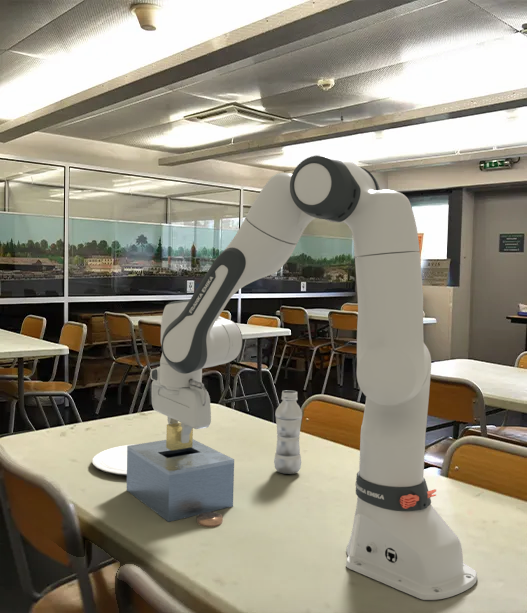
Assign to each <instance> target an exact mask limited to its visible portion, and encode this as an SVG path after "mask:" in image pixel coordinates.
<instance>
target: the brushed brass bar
mask: <svg viewBox="0 0 527 613" xmlns="http://www.w3.org/2000/svg"><path fill="white" fill-rule="evenodd" d="M181 431H182V427H181V422H178V423H175V424H166V434H165V435H166V437H165V438H166V439H165V440H166V448H168V449H169V450H171V451H172V450H178V449H184V448H190V447H192V443H193V437H194V436H193V435H194V434H193V432H194V428H192V430H191V433H190V434H189V442H188V443H182V442H180V441H179V434H180V433H181Z"/></svg>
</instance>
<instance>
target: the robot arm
mask: <svg viewBox="0 0 527 613" xmlns="http://www.w3.org/2000/svg"><path fill="white" fill-rule="evenodd" d="M415 218H416V217H415V214H414V211H413V208H412V204H411V202H410V200H409V198H408V197H407V196H406V195H405V194H403V193H402V192H400V191H396V190H392V189H380V186H379V182H378V181H377V179H376V177H375V176H374V174H372V173H371V172H370V171H369V170H367V169H366V168H364V167H362V166H359V165H357V164H355V162H353V161H351V160H349V159H346V158H341V157H336V156H334V155H331V154H316V155H312V156H310V157H307V158H305V159H303V160H302V161H301V162H300V163H299V164H297V166H296V167H295V168H294V170H293V172H292V173H288V172H280V173H276V174H274V175H273V176H271V177H270V178H269V180H268V181H267V182H266V184H265V185H264V186H263V188H262V189H261V191H260V192H259V193H258V195H257V196H256V198H255V200H254V201H253V202H252V204H251V206H250V207H249V210H248V212H247V214H246V215H245V217H244V220H243V222H242V224H241V225H240V226H239V229H238V230H237V232H236V234H234V237H233V238H232V239H231V241H230V242H229V244H228V245H227V246H226V247H225V249H224V250H222V252H221V253H220V254H219V255H218V257H216V259H215V260H214V261H213V262H212V264H211V266H210V267H209V269H208V270H207V272H206V273H205V274H204V276H203V278H202V280H201V282H200V283H199V285H198V287H197V288H196V289H195V292H194V293H193V294H192V296H191V298H190V299H185V300H184V299H183V300H176V301H171V302H168V304H166V305H165V306H164V308H163V312H162V316H161V325H160V345H161V352H162V353H161V357H160V359H159V360H160V361H159V366H157V367H155V368H152V369H150V373H149V374H150V379H151V380H152V382H151V390H150V391H151V393H150V394H151V405H152V408H153V410H154V411H155V412H157V413H159V414H161V415H164V416H165V417H167V423H168V424H175V423H181V427H182V431H181V433H180V434H179V441H180V442H182V443H188V442H189V434H190V433H191V430H192V428H193V430H194V429H195V430H200V429H207V428H209V427H210V425H211V424H212V411H211V408H212V407H211V398H210V397H211V396H210V395H209V392H208V391H207V389H206V387H205V384H204V383H203V382H202V378H203V369H206V368H213V367H217V366H219V365H220V366H221V365H224V364H228V363H230V362H232V361H234V360H236V359H237V358H238V357H239V356H240V354H241V351H242V349H243V345H244V344H243V339H244V338H243V335H242V334H243V333H242V332H241V330H240V327H239V325H238V324H237V323H236V322H235V321H233V320H231V319H230V318H229V319H228V318H226V317H223V316H221V314H222V312H223V311H224V309H225V308H226V306H227V304H228V303H229V302H230V300H231V298H232V297H233V296H234V295H235V294H236V293H237V292H238V291H239V290H241V289H242V288H244V287H245V286H247V285H249V284H251V283H253V282H256V281H258V280H261V279H263V278H266V277H269V276H272V275H273V274H275V273H277V272H279V271H280V270H281V269H282V267H283V266H284V265H285V264H286V263H287V262H288V260H289V259H290V257H291V256H292V254H293V252H294V251H295V248H296V246H297V244H298V243H299V241H300V239H301V237H302V235H303V233H304V232H305V230H306V228H307V227H308V225H309V224H310V223H311V222H312V221H314V220H316V219H319V220H325V221H327V222H330V223H339V224H340V223H341V224H342V223H343V224H345V225H347V226H348V228H349V230H350V231H351V234H352V238H353V241H352V242H353V250H354V251H353V253H354V263H355V264H354V266H355V276H356V291H357V322H356V324H357V328H356V380H357V384H358V387H359V389H360V391H361V392H362V393H363V395H364V396H365V404H364V411H363V418H362V422H361V427H360V440H359V442H360V443H359V444H360V445H359V466H358V468H359V470H358V471H357V473H356V479H355V495H356V496H357V501H356V506H355V507H356V508H355V513H354V516H353V517H354V518H353V523H352V528H351V529H352V530H351V535H350V538H349V541H348V544H347V545H346V546H347V547H346V554H347V558H346V564H345V566H346V567H347V569H349V570H352V571H354V572H356V573H359V574H361V575H364V576H366V577H368V578H370V579H373V580H375V581H378V582H379V583H382V584H383V585H384V584H385V585H386V586H389V587H392V588H393V589H396V590H398V591H401V592H403V593H405V594H407V595H410V596H412V597H415V598H417V599H420V600H422V601H423V600H424V601H436V600H442V599H447V598H450V597H455V596H456V595H459V594H461V593H463V592H465V591H467V590H469V589H470V588H472V587H473V586H474V585H475V584H476V582H477V580H478V572H477V570H475V569H474V568H473V567H471V566H469V565H468V564H467V563H465V562H464V556H463V547H462V543H461V540H460V538H459V536H458V535H457V534H456V533H455V531H453V529H451V527H450V526H449V524H447V522H446V521H445V520H444V519H443V517H442V516H441V515H440V514H439V512H438V511H437V510H436V509H435V508H434V506H433V505H432V504H431V503H432V499H431V498H433V497H437V494H434V493H436V492H437V489H432V490H431V489H430V490H429V488H428V484H427V481H426V479H425V477H424V475H425V474H424V471H425V470H424V469H425V451H426V450H425V448H426V436H427V435H426V432H427V424H428V423H427V421H428V412H429V402H430V401H429V399H430V387H431V386H430V385H431V375H432V371H431V370H432V357H431V352H430V351H429V348H428V347H427V345H426V344H425V342H424V341H425V340H424V338H425V337H424V291H423V290H424V289H423V288H424V287H423V280H422V279H423V278H422V276H423V275H422V264H421V252H420V251H421V250H420V242H419V234H418V227H417V223H416V219H415Z"/></svg>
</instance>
